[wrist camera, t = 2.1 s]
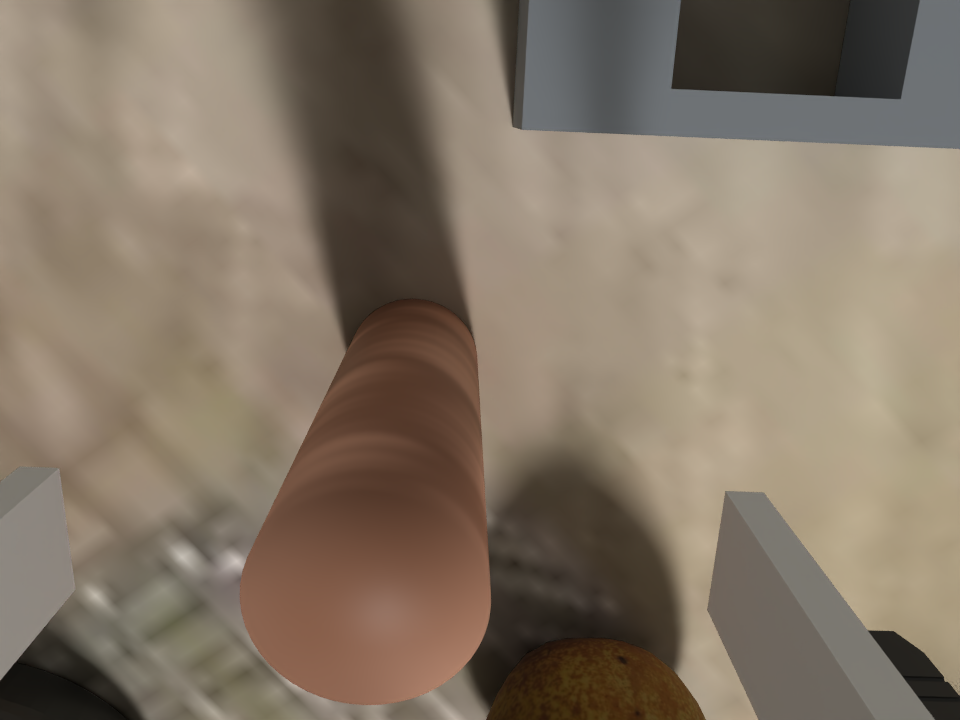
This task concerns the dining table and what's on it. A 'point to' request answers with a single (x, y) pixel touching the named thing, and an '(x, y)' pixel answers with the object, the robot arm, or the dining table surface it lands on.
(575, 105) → the socket block
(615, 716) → the fruit
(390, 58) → the dining table surface
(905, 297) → the dining table surface
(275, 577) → the peg
